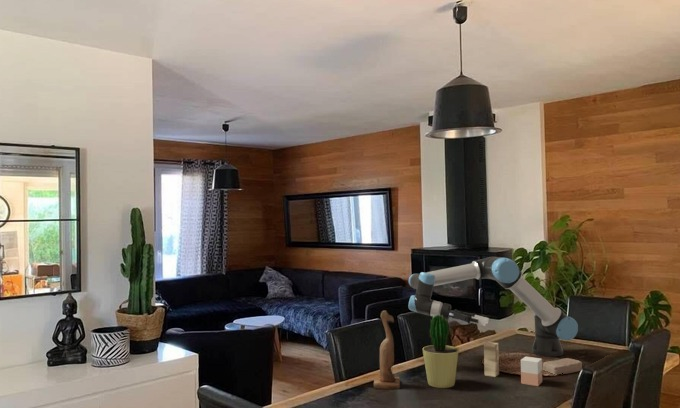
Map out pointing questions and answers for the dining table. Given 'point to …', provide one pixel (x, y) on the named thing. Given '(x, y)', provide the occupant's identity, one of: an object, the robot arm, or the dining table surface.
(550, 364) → the brick
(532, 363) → the tower top
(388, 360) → the bird sculpture
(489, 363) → the oak pillar
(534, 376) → the tower base
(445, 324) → the potted cactus
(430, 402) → the dining table surface
